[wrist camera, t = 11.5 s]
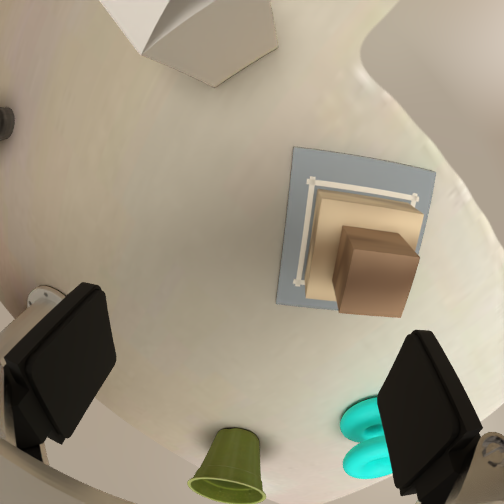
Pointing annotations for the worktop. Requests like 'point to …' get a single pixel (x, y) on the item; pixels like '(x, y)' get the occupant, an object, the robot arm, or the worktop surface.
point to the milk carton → (198, 33)
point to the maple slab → (355, 215)
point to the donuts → (365, 441)
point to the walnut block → (373, 272)
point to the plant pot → (231, 469)
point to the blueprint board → (342, 180)
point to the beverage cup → (6, 123)
